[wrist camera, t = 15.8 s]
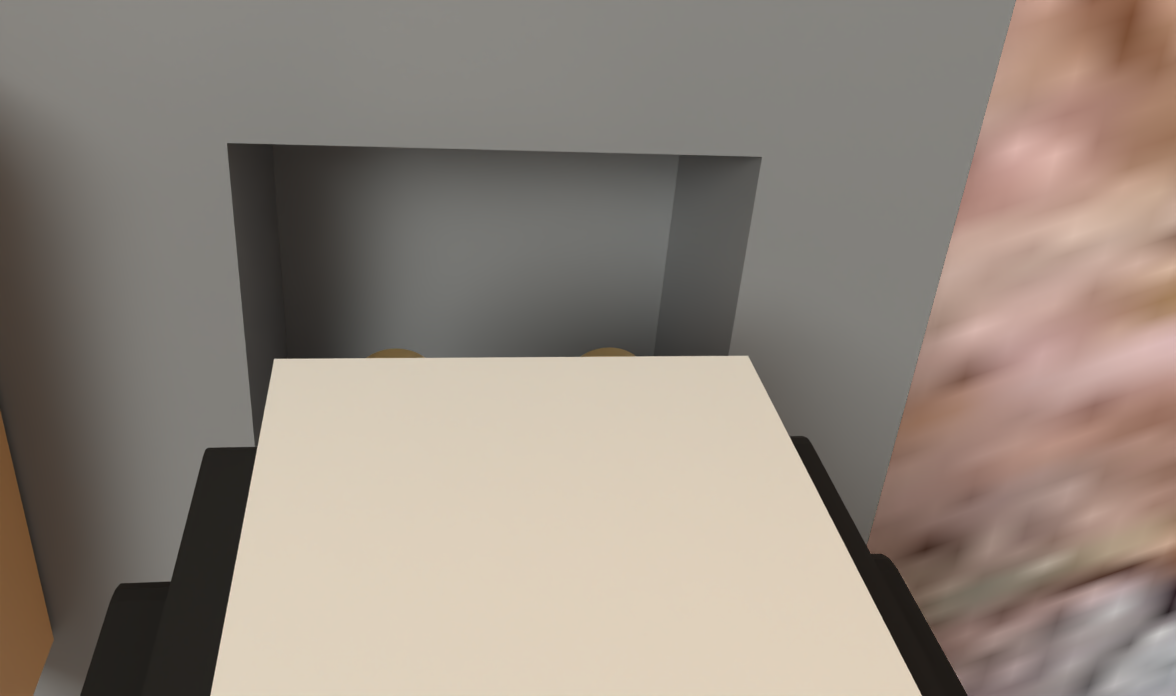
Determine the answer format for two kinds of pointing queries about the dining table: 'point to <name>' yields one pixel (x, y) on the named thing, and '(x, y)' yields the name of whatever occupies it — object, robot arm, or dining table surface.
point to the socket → (451, 222)
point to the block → (540, 537)
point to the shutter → (19, 591)
